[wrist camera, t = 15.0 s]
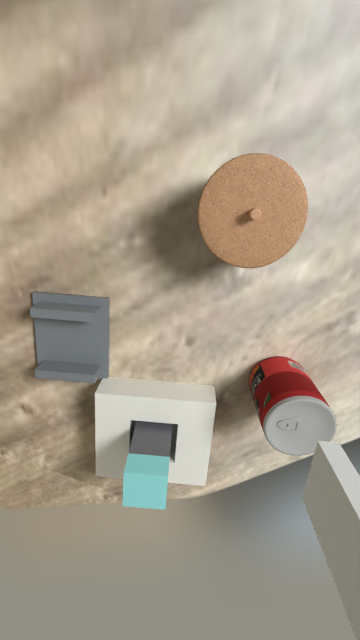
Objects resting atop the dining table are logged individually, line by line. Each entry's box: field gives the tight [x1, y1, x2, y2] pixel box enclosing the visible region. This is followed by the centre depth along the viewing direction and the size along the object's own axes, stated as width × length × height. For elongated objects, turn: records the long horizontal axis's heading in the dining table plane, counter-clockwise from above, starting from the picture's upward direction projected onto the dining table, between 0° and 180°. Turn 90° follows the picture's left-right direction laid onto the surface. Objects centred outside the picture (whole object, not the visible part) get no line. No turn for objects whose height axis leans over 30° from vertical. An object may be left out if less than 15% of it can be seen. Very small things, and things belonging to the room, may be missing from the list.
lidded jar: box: [198, 153, 308, 268], centre depth 35 cm, size 11×11×9 cm
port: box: [95, 377, 216, 486], centre depth 47 cm, size 16×14×4 cm
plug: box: [123, 421, 173, 510], centre depth 43 cm, size 5×5×12 cm
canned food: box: [249, 356, 337, 456], centre depth 41 cm, size 8×8×11 cm
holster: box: [30, 291, 109, 383], centre depth 44 cm, size 10×12×4 cm
